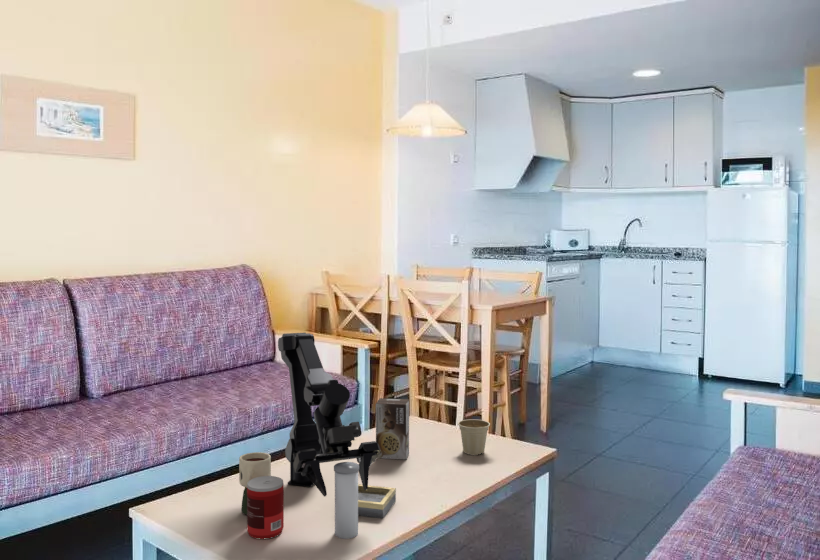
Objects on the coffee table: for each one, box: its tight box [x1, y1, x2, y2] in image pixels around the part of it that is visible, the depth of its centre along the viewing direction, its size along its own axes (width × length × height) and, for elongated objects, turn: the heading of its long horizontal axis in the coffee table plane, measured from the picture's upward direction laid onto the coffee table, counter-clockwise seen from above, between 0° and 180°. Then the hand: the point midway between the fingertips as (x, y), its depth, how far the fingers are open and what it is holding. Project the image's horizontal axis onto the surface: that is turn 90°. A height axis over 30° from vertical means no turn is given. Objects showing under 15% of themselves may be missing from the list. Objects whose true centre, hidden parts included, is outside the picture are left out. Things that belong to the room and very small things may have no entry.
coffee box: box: [375, 397, 410, 460], centre depth 203 cm, size 9×6×16 cm
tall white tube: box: [333, 461, 359, 540], centre depth 150 cm, size 5×5×15 cm
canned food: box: [246, 475, 285, 540], centre depth 151 cm, size 8×8×11 cm
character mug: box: [238, 451, 272, 515], centre depth 161 cm, size 11×7×13 cm, turn 178°
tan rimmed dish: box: [358, 483, 397, 519], centre depth 165 cm, size 10×10×3 cm
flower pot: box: [457, 418, 491, 456], centre depth 207 cm, size 9×9×9 cm
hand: (346, 492), depth 151 cm, fingers open, 9 cm apart
